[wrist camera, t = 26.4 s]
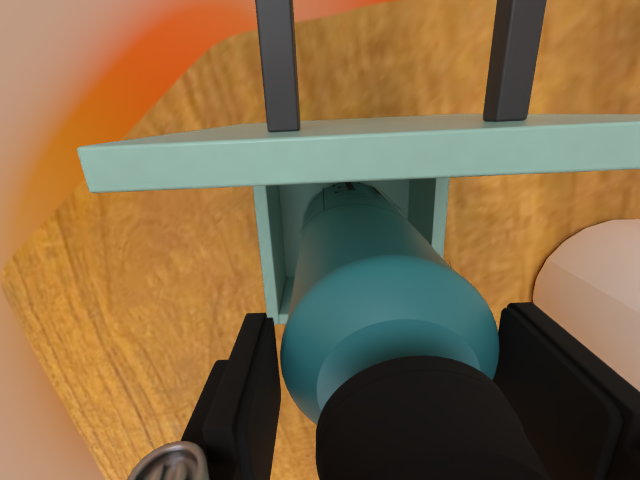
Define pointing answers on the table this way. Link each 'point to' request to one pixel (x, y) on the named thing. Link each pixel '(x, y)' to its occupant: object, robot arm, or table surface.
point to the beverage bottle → (394, 352)
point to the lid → (375, 130)
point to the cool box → (285, 222)
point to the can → (598, 292)
